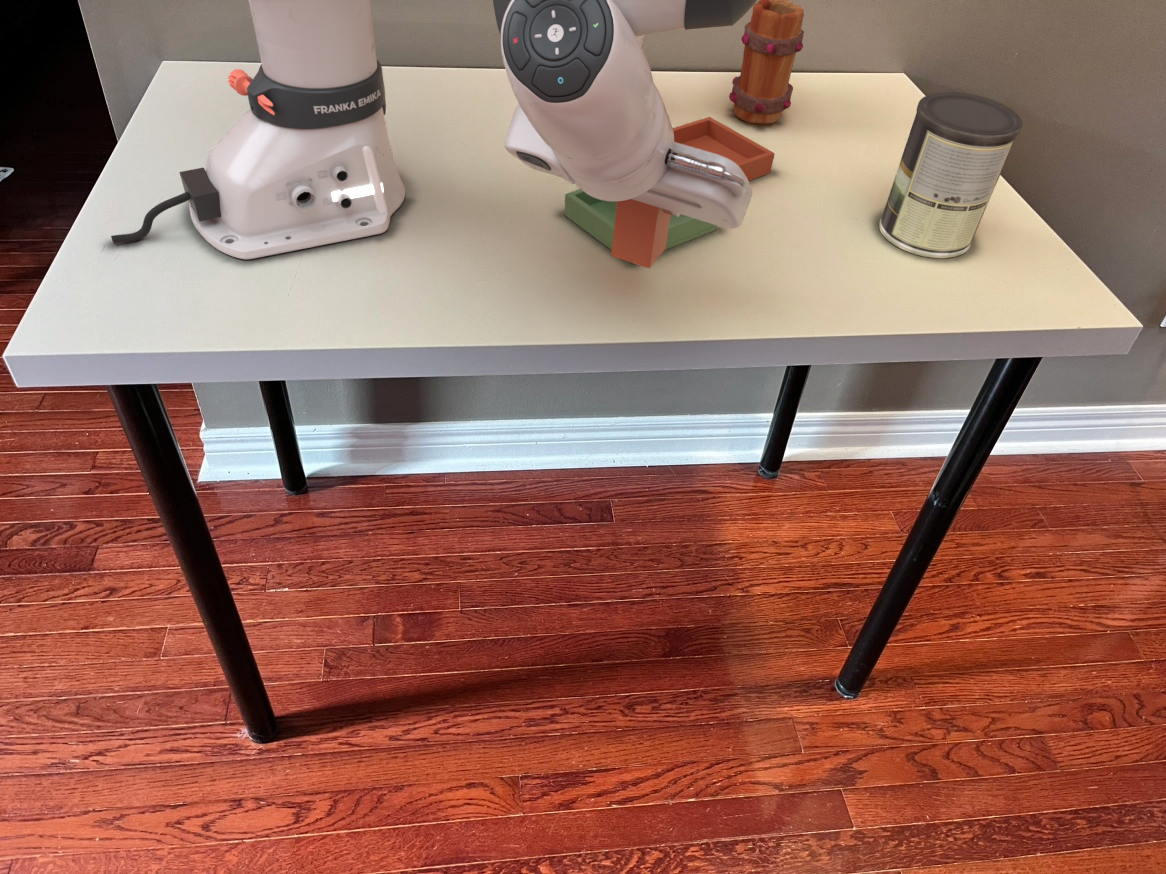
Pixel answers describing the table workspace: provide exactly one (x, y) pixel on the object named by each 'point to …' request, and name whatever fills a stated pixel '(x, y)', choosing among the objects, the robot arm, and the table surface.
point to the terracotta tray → (726, 145)
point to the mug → (768, 61)
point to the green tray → (601, 216)
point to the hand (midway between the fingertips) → (647, 198)
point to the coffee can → (948, 173)
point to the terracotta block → (639, 232)
